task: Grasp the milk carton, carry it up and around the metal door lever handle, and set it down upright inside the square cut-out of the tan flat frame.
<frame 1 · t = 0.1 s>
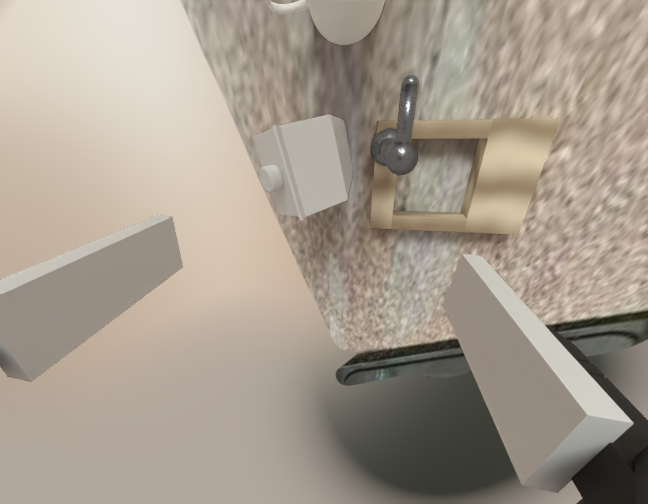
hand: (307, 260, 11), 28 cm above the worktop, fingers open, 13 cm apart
tan flat frame: (446, 177, 34), on the worktop
mug: (332, 3, 28), on the worktop
metal door lever handle: (386, 146, 34), on the worktop
milk carton: (325, 153, 36), on the worktop
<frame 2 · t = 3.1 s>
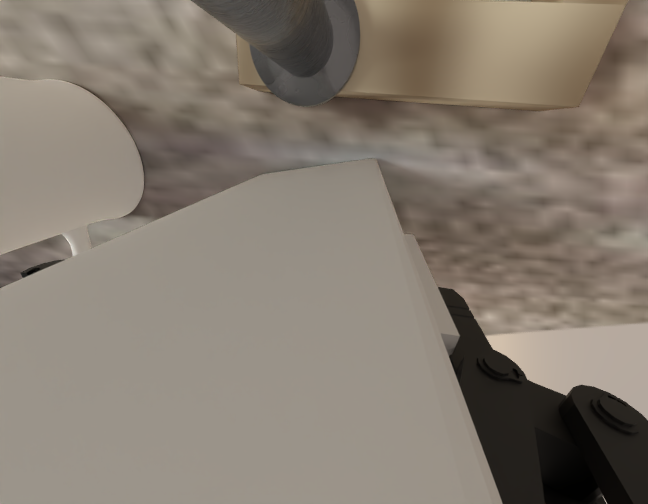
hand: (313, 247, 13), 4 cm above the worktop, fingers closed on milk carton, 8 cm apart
mug: (101, 181, 17), on the worktop
metal door lever handle: (316, 59, 12), on the worktop
milk carton: (324, 221, 16), on the worktop, touching gripper
when the fingers open (5 cm above the worktop, at t = 9.5 s): milk carton drops 1 cm, on the worktop.
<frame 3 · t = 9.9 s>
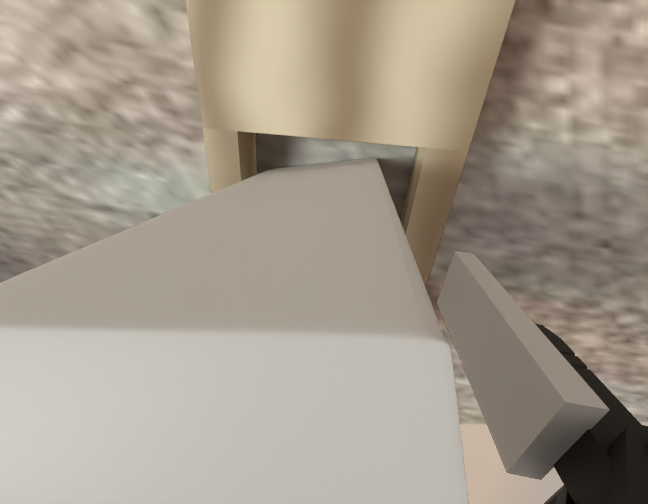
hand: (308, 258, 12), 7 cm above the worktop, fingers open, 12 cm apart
tan flat frame: (329, 187, 17), on the worktop
milk carton: (327, 215, 18), on the worktop
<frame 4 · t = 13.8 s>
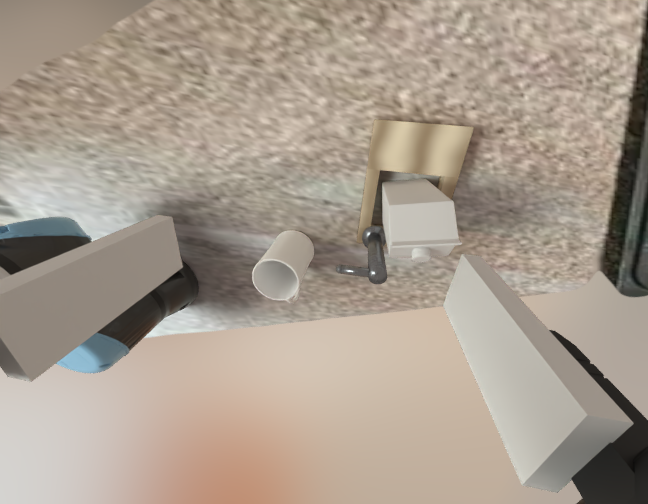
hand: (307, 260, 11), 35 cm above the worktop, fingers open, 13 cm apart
tan flat frame: (405, 188, 43), on the worktop
mug: (295, 255, 52), on the worktop
metal door lever handle: (374, 231, 47), on the worktop
milk carton: (402, 200, 44), on the worktop
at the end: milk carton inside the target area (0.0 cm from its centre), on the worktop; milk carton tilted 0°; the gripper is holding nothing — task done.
